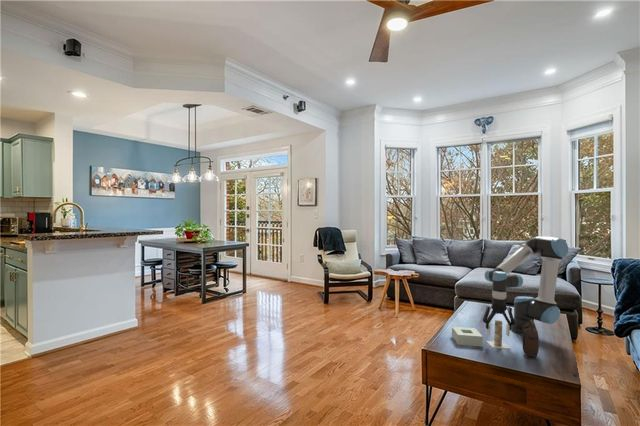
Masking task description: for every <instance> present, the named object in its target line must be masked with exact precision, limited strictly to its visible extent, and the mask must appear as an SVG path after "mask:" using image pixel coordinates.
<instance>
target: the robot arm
mask: <svg viewBox="0 0 640 426" xmlns="http://www.w3.org/2000/svg"><path fill="white" fill-rule="evenodd" d="M568 253H569V245H568V243H567V241H566V240H565V239H564V238H561V237H554V236H553V237H552V236H543V235H542V236H541V235H539V236H534V237H531V238H529V239H527V240H525V241H524V242H523V243H521V244H519V246H518V249H516V250H515V251H514V252H513V253H511V255H509V256H508V257H507V258H506V259H505V260H503V261H502V262H500V264H498V265H497V266H496V267H495V268H494V269H487V270H486V271H485V272H484V279H485V280H486V281H487V282H491V283H492V289H491V292H492V293H491V296H492V298H491V305H486V306H485V312H484V315H483V318H482V322H483V323H484V324H485V329H486V330H487V332H486V334H487V335H488V336H491V321H492V320H493V318H494V317H495V315H496V314H497V315H503V317H504V319H505V321H506V325H505V327H506V330H505V331H506V333H505V335H506V336H507V337H510V331H512V332H514V333H517V334H519V335H520V334H521V335H523V331H524V329H525V328H524V325H525V324H526V323H529V321H530V320H532V321H533V324H534V325H535V326H536V323H535V321H538V322H541V323H544V324H547V325H553V324H555V323H556V322H557V321H559V319H560V317H561V310H560V308H559V307H558V306H557V305H558V304H557V302H556V301H555V295H556V289H557V287H556V286H557V281H558V274H559V273H558V272H559V265H560V262H561V261H563V258H564V257H567V255H568ZM534 255H539V256H540V258H541V260H542V264H541V272H540V277H539V278H540V279H539V285H538V286H539V287H538V294H537V297H533V296H521V295H520V296H516V297H514V301H513V309H512V307H510V306H507V292H508V291H507V288H518V287H522V285H523V284H524V279H523V276H521V275H520V274H515V273H513V274H511V272H512V271H514V270H515V269H516V268H517V267H519V266H520V265H521V264H522V263H523V262H524V261H525V260H526V259H528V258H529V257H530V258H531V257H533V256H534ZM491 310H492V311H491ZM506 311H507V313H508V314H507V313H506ZM508 316H509V317H508ZM536 330H537V331H538V329H537V328H536Z"/></svg>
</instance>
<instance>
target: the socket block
mask: <svg viewBox="0 0 640 426" xmlns="http://www.w3.org/2000/svg"><path fill="white" fill-rule="evenodd" d="M451 337H452V338H453V340H454V341H456V342H455V343H456V345H457V346H467V345H469V347H483V344H484V343H483V342H484V336H483V335H482V334H481V333H480V331H479V330H478V329H476V328H474V327H464V326H463V327H462V326H461V327H460V326H452V327H451Z"/></svg>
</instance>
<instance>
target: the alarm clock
mask: <svg viewBox="0 0 640 426" xmlns="http://www.w3.org/2000/svg"><path fill="white" fill-rule="evenodd" d="M524 328H525V329H524V331H523V334H522V337H521V339H522V342H521V344H522V351H523V354H524V355H525V357H526V359H527V360H528V357H529V356H530V357H534V359H535V360H536V359H537V358H536V357H538V353H539V350H540V344H539V343H540V339H539V333H538V329H537V326H536V324H535V325H534V324H533V321H532V320H530V321H529V323H526V324H525V325H524ZM536 329H537V330H536Z"/></svg>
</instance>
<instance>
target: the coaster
mask: <svg viewBox="0 0 640 426" xmlns="http://www.w3.org/2000/svg"><path fill="white" fill-rule="evenodd" d="M485 342H486V343H487V344H488V345H489V347H490V348H492V349H499V350H500V349H501V350H511V348H510V347H509V346H508V345H507V344H506V343H505V342H504V341H502V346H497V345H495V344H494V340H486V341H485Z"/></svg>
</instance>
